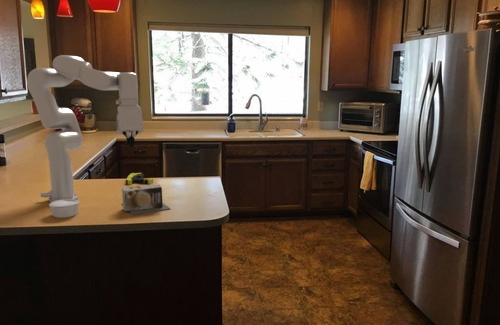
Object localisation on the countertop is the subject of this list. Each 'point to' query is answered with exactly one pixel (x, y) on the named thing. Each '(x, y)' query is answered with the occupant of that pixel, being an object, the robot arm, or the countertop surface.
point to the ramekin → (64, 208)
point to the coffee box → (142, 197)
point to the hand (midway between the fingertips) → (130, 146)
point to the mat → (149, 210)
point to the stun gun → (138, 179)
